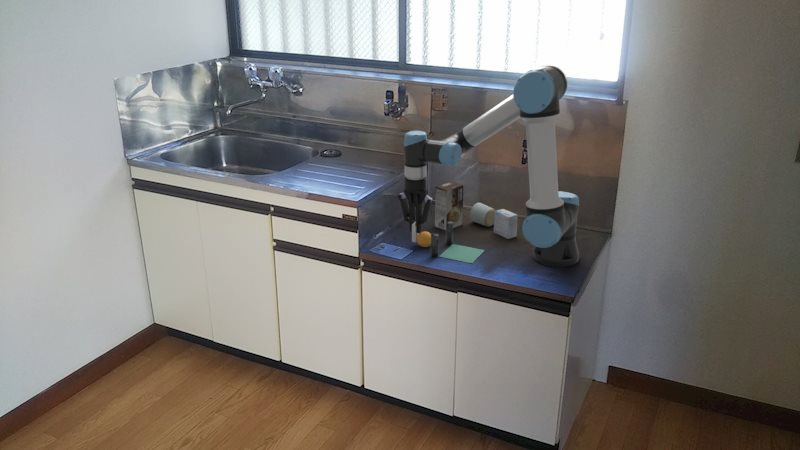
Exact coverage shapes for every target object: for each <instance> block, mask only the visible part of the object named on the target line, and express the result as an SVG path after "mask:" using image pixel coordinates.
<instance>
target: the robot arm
mask: <svg viewBox="0 0 800 450" xmlns="http://www.w3.org/2000/svg"><path fill="white" fill-rule="evenodd" d="M567 89H568V78H567V75H566V74H565V71H564V70H562V69H561V68H560V67H559V66H555V65H552V64H546V65H542V66H539V67H537V68H535V69H530V70H528V71H526V72H525V73H523V74H522V75H521V76H519V78H518V79H517V80H516V81H515V84H514V86H513V90H512V95H510V96H508V97H507V98H505V99H504V100H502V101H501V102H499V103H498V104H497V105H495V106H493V107H492V108H491V109H489V110H487V111H486V112H485V113H483V114H482V115H480V116H479V117H477V118H476V119H474V120H473V121H471V122H470V123H469V124H467V125H466V126H464V127H463V128H461V129H459V130H458V131H456V132H455V133H453V134H451V135H450V136H448V137H446V138H443V139H441V140H436V139H435V140H434V139H429V138H428V136H427V132H426V131H422V130H410V131H407V132H405V134H404V140H403V144H404V145H403V148H404V153H403V154H404V162H403V163H404V167H403V168H404V172H403V174H404V179H403V180H404V181H403V182H404V188H403V189H404V190H403V192H401V193H399V194H397V198H398V200H399V202H400V206H401V210H402V214H403V219H404V221H405V222H408V224H409V232H410V233H411V242H412V243H418V241H417V237H418V235H419V234H420V233H421V232H422V225H424V224H425V223H426V222H427V220H428V216H429V213H430V209H431V205H432V202H433V201H435V200H434V199H435V198H434V197H431V196H429V195H428V192H427V164H428V163H432V164H436V165H443V166H447V167H448V166H452V167H455V166H457V165H458V164H459V163H460V161H461V159H462V155H465V154H466V153H467V154H468V153H469V152H470V151H471V150H473V148H475V147H476V146H478V145H480V144H481V143H482V142H484V141H486V140H488V139H489V138H491V137H492V136H494V135H495V134H497V133H498V132H500V131H502V130H504V129H505V128H506V127H508V126H509V125H511V124H512V123H514V122H516V121H517V120H519V119H521V120H523V121H524V124H525V131H526V132H525V135H526V136H525V137H526V151H527V165H528V166H527V168H528V181H529V199H528V200H527V201H526V202H525V214H526V217H525V219H524V220H523V223H522V226H521V227H522V228H521V230H522V231H521V232H522V234H523V236H524V238H525V240H526V241H527V242H529V243H530V244H531V245H532V246H533V249H532V250H533V252H532V258H533V260H535V262H537V263H540V264H542V265H544V266H548V267H552V268H553V267H554V268H564V267H565V268H566V267H573V266H575V265H577V264H578V262H579V260H580V252H579V247H578V243H577V240H576V235H577V224H578V215H579V207H580V198H579V196H578V195H577V194H574V193H572V192H568V191H561V190H560V191H559V179H558V175H559V174H558V158H557V157H558V155H557V139H556V119H557V117H559V116H560V114H561V111H560V110H561V108H560V107H561V106H560V100H561V99H562V98H563V97H564V95H565V94H566V92H567ZM423 201H424V203H425V204H424V207H423Z"/></svg>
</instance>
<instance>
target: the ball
mask: <svg viewBox="0 0 800 450" xmlns="http://www.w3.org/2000/svg"><path fill="white" fill-rule="evenodd" d="M431 234H432V233H430V232H429V231H421V232H420V233H419V235H418V237H417V243H418V245H419V246H420V247H422V248H428V247H429V246H430V247H431Z"/></svg>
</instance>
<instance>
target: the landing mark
mask: <svg viewBox="0 0 800 450" xmlns="http://www.w3.org/2000/svg"><path fill="white" fill-rule="evenodd" d="M485 251H486V250H485V249H481V248H475V247H471V246H470V247H469V246H465V245H460V244H456V243H453V244H452V245H449V247H448V248H447V249H445V250H444V251H443V252H442V253H441V254H440V255H438V258H441V257H442V258H441V259H445V260H452V261H456V260H457V262H461V261H462V262H461V263H466V262H467V263H466V264H471V263H472V264H473V263H475V261H476V260H478V258H479V257H480V256H482V254H483V253H484V252H485Z"/></svg>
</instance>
